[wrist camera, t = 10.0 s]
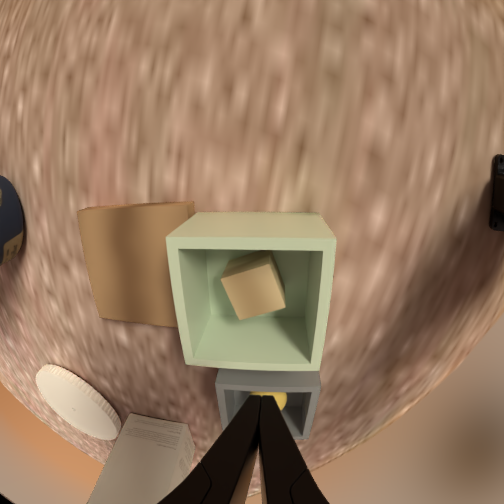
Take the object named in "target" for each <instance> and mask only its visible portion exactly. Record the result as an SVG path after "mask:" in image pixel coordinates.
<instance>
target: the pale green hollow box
mask: <svg viewBox="0 0 504 504" xmlns="http://www.w3.org/2000/svg"><path fill="white" fill-rule="evenodd" d="M166 246H167V254H168V263H169V270H170V278H171V285H172V292H173V298H174V305H175V311H176V317H177V322H178V328H179V334H180V339H181V344H182V349H183V354H184V359H185V364H187V365H195V366H205V367H215V368H228V369H243V370H265V371H319V370H320V364H321V359H322V353H323V347H324V341H325V334H326V328H327V321H328V314H329V306H330V298H331V290H332V281H333V272H334V262H335V251H336V237H335V236H334V234H333V233H332V231H331V230H330V229H329V227H328V226H327V224H326V223H325V221H324V220H323V219H322V217H321V216H320V214H319V213H303V212H197V213H196V214H195V215H193V216H192V217H191V218H190V219H188V220H187V221H186V222H184V223H183V224H182V225H180V226H179V227H178V228H176V229H175V230H174V231H173V232H171V233H170V234H169V235H167V236H166ZM259 250H272V253H273V255H274V258H275V261H276V263H277V266H278V269H279V271H280V274H281V277H282V280H283V282H284V285H285V305H286V308H282V309H279V310H275V311H272V312H268V313H265V314H261V315H258V316H254V317H250V318H246V319H243V320H239V318H238V316H237V314H236V312H235V310H234V308H233V306H232V303H231V301H230V299H229V297H228V295H227V293H226V290H225V288H224V286H223V284H222V282H221V277H222V274H223V272H224V270H225V268H226V265H227V263H228V261H229V260H232V259H235V258H238V257H241V256H244V255H247V254H250V253H253V252H256V251H259Z"/></svg>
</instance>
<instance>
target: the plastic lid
mask: <svg viewBox="0 0 504 504" xmlns="http://www.w3.org/2000/svg"><path fill="white" fill-rule="evenodd" d="M36 383H37V385H38V388H39V390H40V392H41V394H42V395H43V397H44V398H45V400H46V401H47V403H48V404H49V405H50V406H51V407H52V409H53V410H55V412H57V413H58V415H60V416H61V417H62V418H63V419H64V420H66V421H67V422H68V423H70V425H72V426H73V427H75V428H76V429H79V430H80V431H82V432H83V433H86V434H87V435H89V436H92V437H95V438H98V439H101V440H113V439H115V438H116V437H117V435H118V433H119V431H120V429H121V423H120V422H121V421H120V418H118V417H119V416H118V415H117V413H116V412H115V410H114V409H113V407H112V406H110V404H109V403H108V402H107V400H105V399H104V397H103V396H101V394H100V393H98V392H97V391H96V390H94V389H93V387H92V386H90V385H89V384H88V383H86V382H85V381H84V380H82V379H81V378H80V377H77V375H74V374H73V373H72V372H69V371H68V370H66V369H63V368H62V367H59V366H56V365H53V364H52V365H50V364H49V365H48V364H47V365H44V366H43V367H42V368H41V369H40V371H39V372H38V373H37V374H36Z"/></svg>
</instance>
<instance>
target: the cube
mask: <svg viewBox="0 0 504 504" xmlns="http://www.w3.org/2000/svg"><path fill="white" fill-rule="evenodd" d="M221 282H222V284H223V286H224V288H225V290H226V293H227V295H228V297H229V299H230V301H231V303H232V306H233V308H234V310H235V312H236V314H237V316H238V318H239V320H243V319H246V318H250V317H254V316H258V315H261V314H265V313H268V312H272V311H275V310H279V309H282V308H286V305H285V285H284V282H283V280H282V277H281V274H280V271H279V269H278V266H277V263H276V261H275V258H274V255H273V253H272V250H259V251H256V252H253V253H250V254H247V255H244V256H241V257H238V258H235V259H232V260H229V261H228V263H227V265H226V268H225V270H224V272H223V274H222V277H221Z"/></svg>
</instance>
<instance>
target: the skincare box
mask: <svg viewBox="0 0 504 504" xmlns="http://www.w3.org/2000/svg"><path fill="white" fill-rule="evenodd" d="M194 452H195V445H194V442H193V439H192V436H191V433H190V430H189V427H188V424H185V423H178V422H172V421H166V420H161V419H156V418H151V417H146V416H141V415H137V414H133V413H130V414H129V415H128V417H127V419H126V421H125V423H124V426H123V428H122V430H121V432H120V434H119V436H118V438H117V440H116V442H115V444H114V446H113V449H112V451H111V453H110V455H109V457H108V459H107V461H106V463H105V465H104V468H103V470H102V472H101V475H100V476H99V478H98V481H97V483H96V485H95V487H94V490H93V492H92V494H91V496H90V498H89V500H88V502H87V504H157V503H158V502H159V501H160V500H162V499H163V498H164V497H165V496H167V495H168V494H169V493H170V492H171V491H172V490H174V489H175V488H176V487H177V486H178V485H179V484H180V483H181V482H182V481H183V480H184V479H185V478H186V477H187V476H188V475H189V472H190V468H191V464H192V460H193V456H194Z"/></svg>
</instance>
